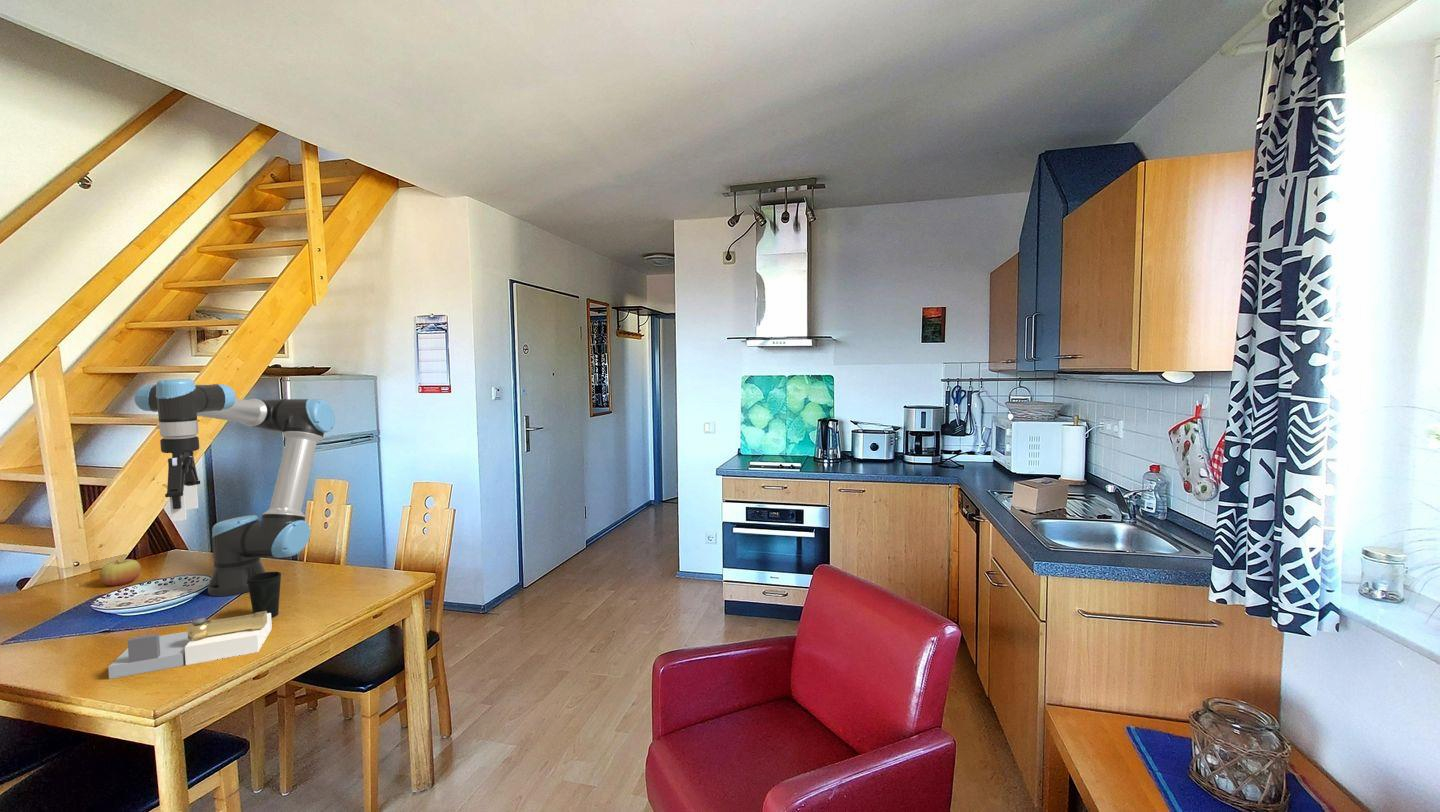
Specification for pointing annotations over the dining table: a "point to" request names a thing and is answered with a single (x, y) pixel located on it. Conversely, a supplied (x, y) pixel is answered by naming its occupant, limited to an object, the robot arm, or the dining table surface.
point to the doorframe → (185, 649)
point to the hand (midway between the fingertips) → (185, 514)
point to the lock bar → (227, 625)
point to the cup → (265, 592)
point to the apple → (120, 572)
